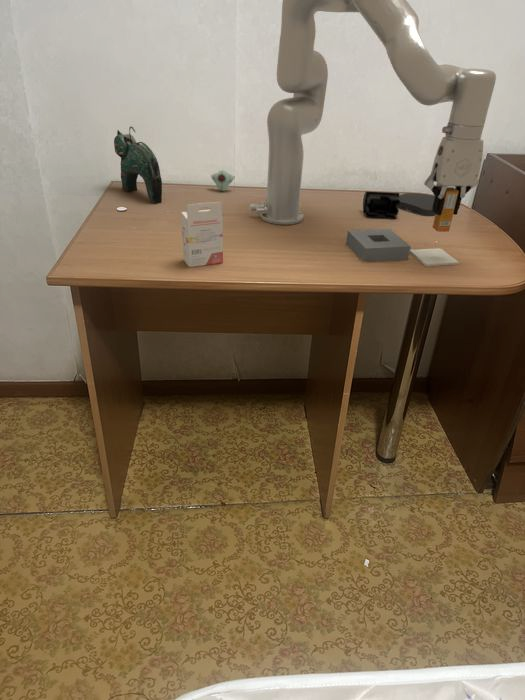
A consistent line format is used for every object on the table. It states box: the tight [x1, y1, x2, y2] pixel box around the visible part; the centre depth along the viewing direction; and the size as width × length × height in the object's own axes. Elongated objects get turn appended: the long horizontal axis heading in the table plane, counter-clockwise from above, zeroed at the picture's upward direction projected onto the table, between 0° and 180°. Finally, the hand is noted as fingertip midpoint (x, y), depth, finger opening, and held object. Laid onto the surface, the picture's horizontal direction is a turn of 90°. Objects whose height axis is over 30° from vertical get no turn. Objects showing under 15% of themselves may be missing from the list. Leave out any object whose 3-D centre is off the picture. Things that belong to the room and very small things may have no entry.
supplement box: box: [432, 186, 458, 233], centre depth 124 cm, size 3×3×10 cm
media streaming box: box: [397, 192, 436, 217], centre depth 166 cm, size 15×15×3 cm
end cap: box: [362, 190, 400, 220], centre depth 156 cm, size 10×7×7 cm
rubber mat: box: [409, 247, 460, 267], centre depth 131 cm, size 9×9×1 cm
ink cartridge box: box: [180, 201, 224, 268], centre depth 119 cm, size 9×5×15 cm, turn 114°
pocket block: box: [345, 228, 412, 263], centre depth 132 cm, size 12×12×4 cm
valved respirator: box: [210, 169, 236, 192], centre depth 168 cm, size 8×4×7 cm, turn 85°
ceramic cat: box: [113, 126, 163, 205], centre depth 157 cm, size 20×6×20 cm, turn 43°
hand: (444, 212), depth 125 cm, fingers closed on supplement box, 3 cm apart
